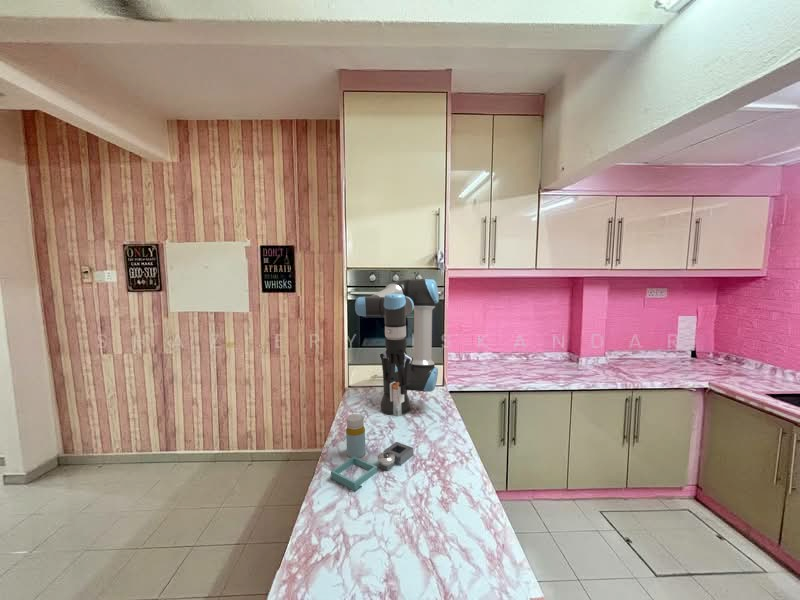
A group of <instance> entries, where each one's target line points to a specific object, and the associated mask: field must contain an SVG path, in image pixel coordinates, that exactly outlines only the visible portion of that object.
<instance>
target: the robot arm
mask: <svg viewBox="0 0 800 600" xmlns="http://www.w3.org/2000/svg"><path fill="white" fill-rule="evenodd" d="M439 298H440V296H439V288H438V284H437V282H436V280H435V279H429V278H420V279H418V278H416V279H412V278H411V279H399V280H396V281H394V282H391V283H390V284H387V285H386V286H385V288H384V289H382V290H380V291H378V292H376V293H374V294H372V295H370V296H359V297H357V298H356V299H355V303H354V308H355V309H354V310H355V313H356V315H357V316H360V317H365V318H366V317H384V336H385V339H384V346H385V352H383V353H380V354H379V356H380V360H381V367H382V378H383V379H382V384H383V396H382V400H381V402H380V411H381V413H383V414H385V415H388V416H394V415H393V383H395V382H399V383H400V385H398V404H401V406H402V415H405V414H408V413H409V412H410V411H411V409H412V404H411V402H410V398H409V395H408V391H415V392H424V393H426V392H433V391H435V389H436V386H437V382H438V377H439V376H438V374H439V368H438V367H437V366H435V362H434V361H433V359H432V355H433V354H432V352H433V351H432V349H433V348H432V346H433V343H432V341H433V338H432V337H433V336H432V335H433V332H432V331H433V310H434V309H435V308H436V304H438V303H439V302H440V300H439ZM413 311H414V313H413V314H414V317H413V318H414V319H413V320H414V324H413V326H414V327H413V356H408V353H407V351H406V350H407V338H406V337H407V322H406V321H407V319H406V317H407V316H410V314H411V313H412V312H413Z"/></svg>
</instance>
